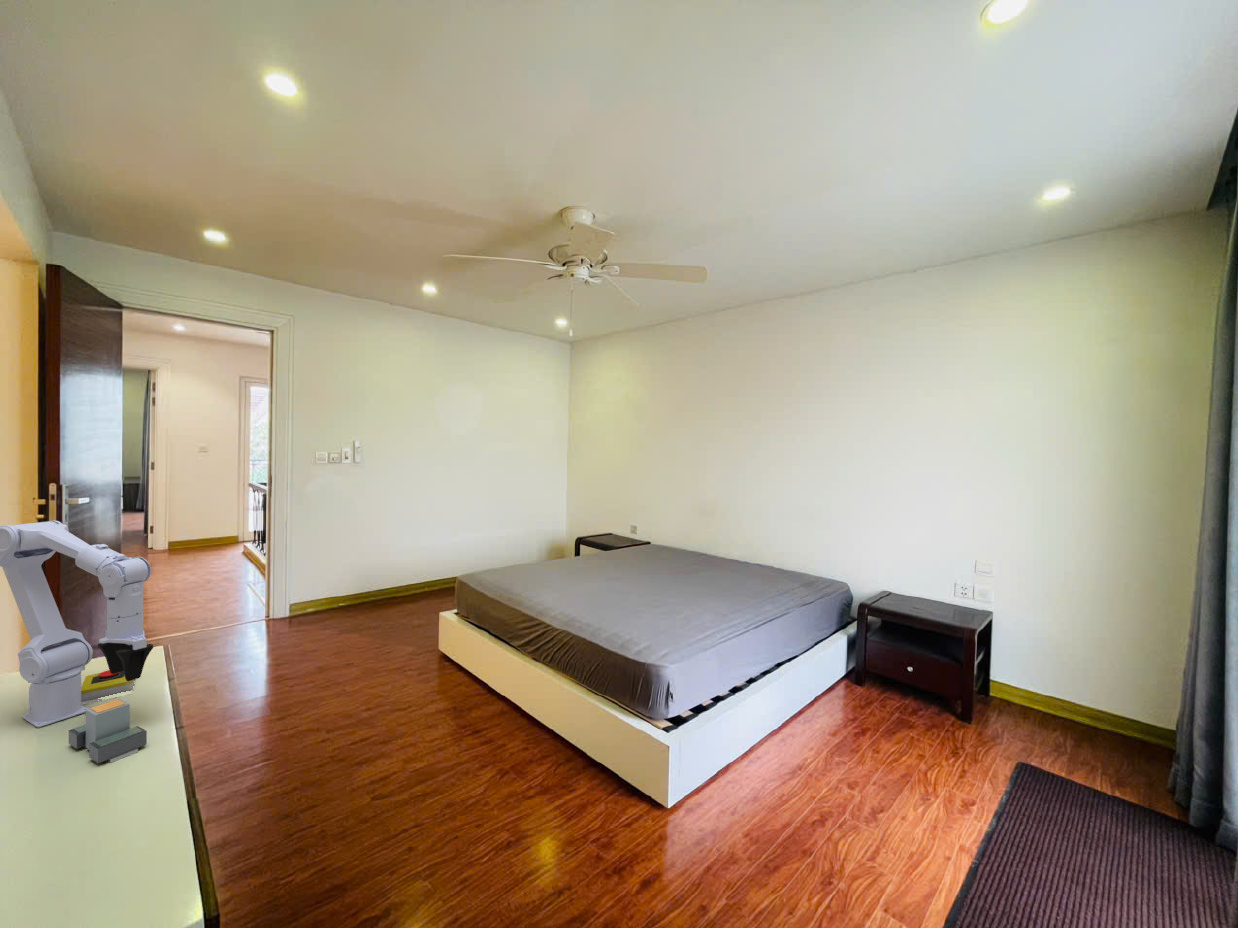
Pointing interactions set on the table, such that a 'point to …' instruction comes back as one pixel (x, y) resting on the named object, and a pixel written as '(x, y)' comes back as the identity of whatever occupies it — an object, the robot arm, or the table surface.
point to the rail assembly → (110, 743)
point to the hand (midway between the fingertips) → (125, 675)
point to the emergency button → (104, 686)
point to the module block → (107, 720)
